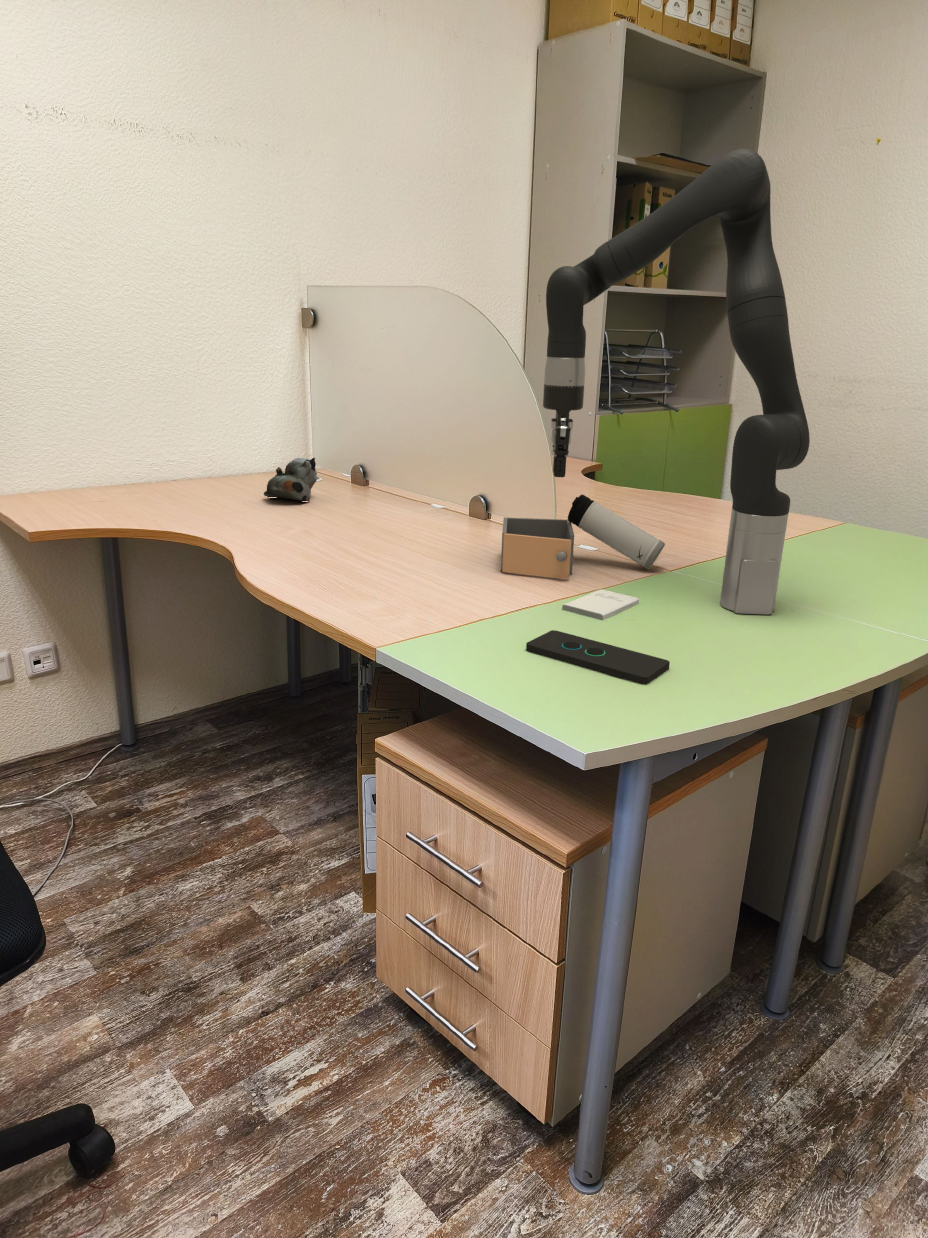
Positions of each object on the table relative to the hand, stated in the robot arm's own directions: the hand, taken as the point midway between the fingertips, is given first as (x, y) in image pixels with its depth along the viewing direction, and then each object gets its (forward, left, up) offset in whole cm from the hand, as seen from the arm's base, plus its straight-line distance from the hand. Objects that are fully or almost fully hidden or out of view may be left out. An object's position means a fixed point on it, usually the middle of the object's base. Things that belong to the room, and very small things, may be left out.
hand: (558, 474), depth 161 cm
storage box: (+4, +3, -19) cm, 20 cm away
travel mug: (+3, -21, -16) cm, 27 cm away
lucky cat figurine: (+60, +69, -19) cm, 94 cm away
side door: (-6, +4, -19) cm, 20 cm away
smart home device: (-47, -5, -20) cm, 51 cm away
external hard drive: (-22, -8, -20) cm, 31 cm away
